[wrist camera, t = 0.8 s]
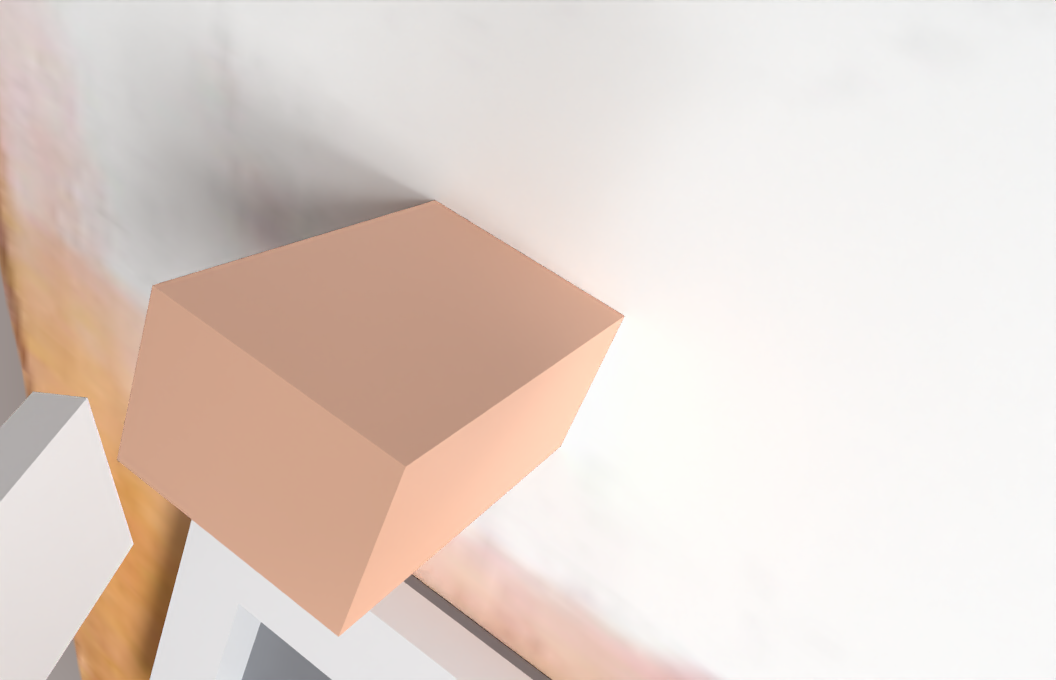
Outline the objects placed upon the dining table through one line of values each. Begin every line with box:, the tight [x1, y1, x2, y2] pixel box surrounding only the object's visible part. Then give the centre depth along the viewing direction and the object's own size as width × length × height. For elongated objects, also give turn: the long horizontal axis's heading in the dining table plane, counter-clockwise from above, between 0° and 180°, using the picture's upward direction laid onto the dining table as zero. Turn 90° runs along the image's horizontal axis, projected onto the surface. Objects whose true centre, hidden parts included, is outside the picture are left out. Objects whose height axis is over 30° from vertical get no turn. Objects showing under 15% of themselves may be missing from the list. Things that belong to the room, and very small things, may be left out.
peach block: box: [117, 200, 624, 637], centre depth 26 cm, size 5×7×11 cm
